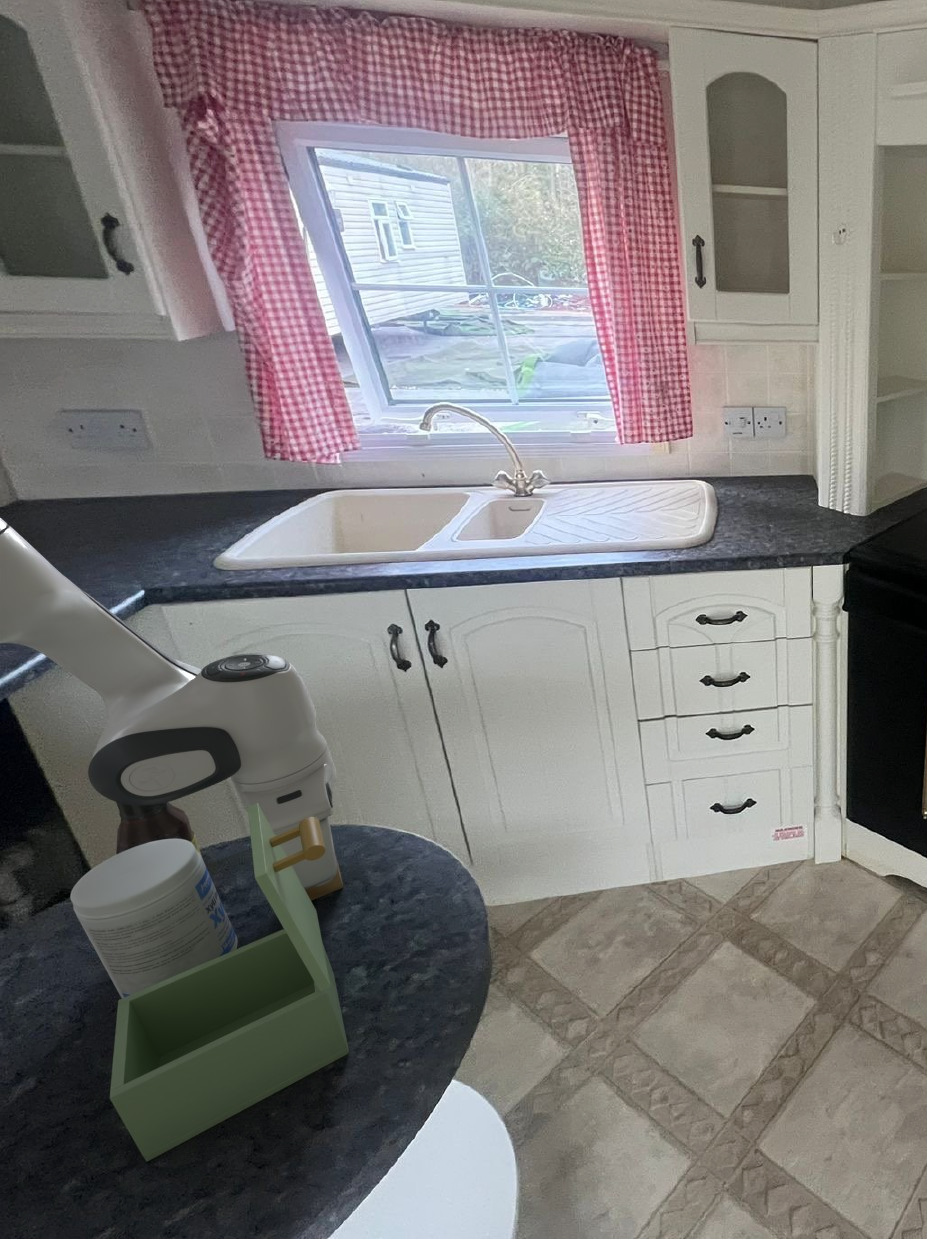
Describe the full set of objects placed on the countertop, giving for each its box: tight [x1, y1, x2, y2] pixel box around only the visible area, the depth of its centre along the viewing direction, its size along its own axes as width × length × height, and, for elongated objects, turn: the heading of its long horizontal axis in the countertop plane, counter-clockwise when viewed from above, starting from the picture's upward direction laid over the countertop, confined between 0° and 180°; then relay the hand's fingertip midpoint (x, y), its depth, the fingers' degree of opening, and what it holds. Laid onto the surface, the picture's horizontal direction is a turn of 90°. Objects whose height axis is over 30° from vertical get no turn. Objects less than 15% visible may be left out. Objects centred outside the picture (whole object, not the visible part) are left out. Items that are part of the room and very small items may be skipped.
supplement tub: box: [69, 839, 239, 999], centre depth 79 cm, size 10×10×15 cm
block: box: [305, 858, 344, 902], centre depth 92 cm, size 5×5×5 cm
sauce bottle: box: [115, 802, 203, 858], centre depth 85 cm, size 7×6×20 cm
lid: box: [247, 803, 330, 992], centre depth 73 cm, size 15×12×5 cm
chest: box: [109, 928, 350, 1162], centre depth 72 cm, size 15×12×9 cm
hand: (321, 866), depth 93 cm, fingers closed on block, 4 cm apart
